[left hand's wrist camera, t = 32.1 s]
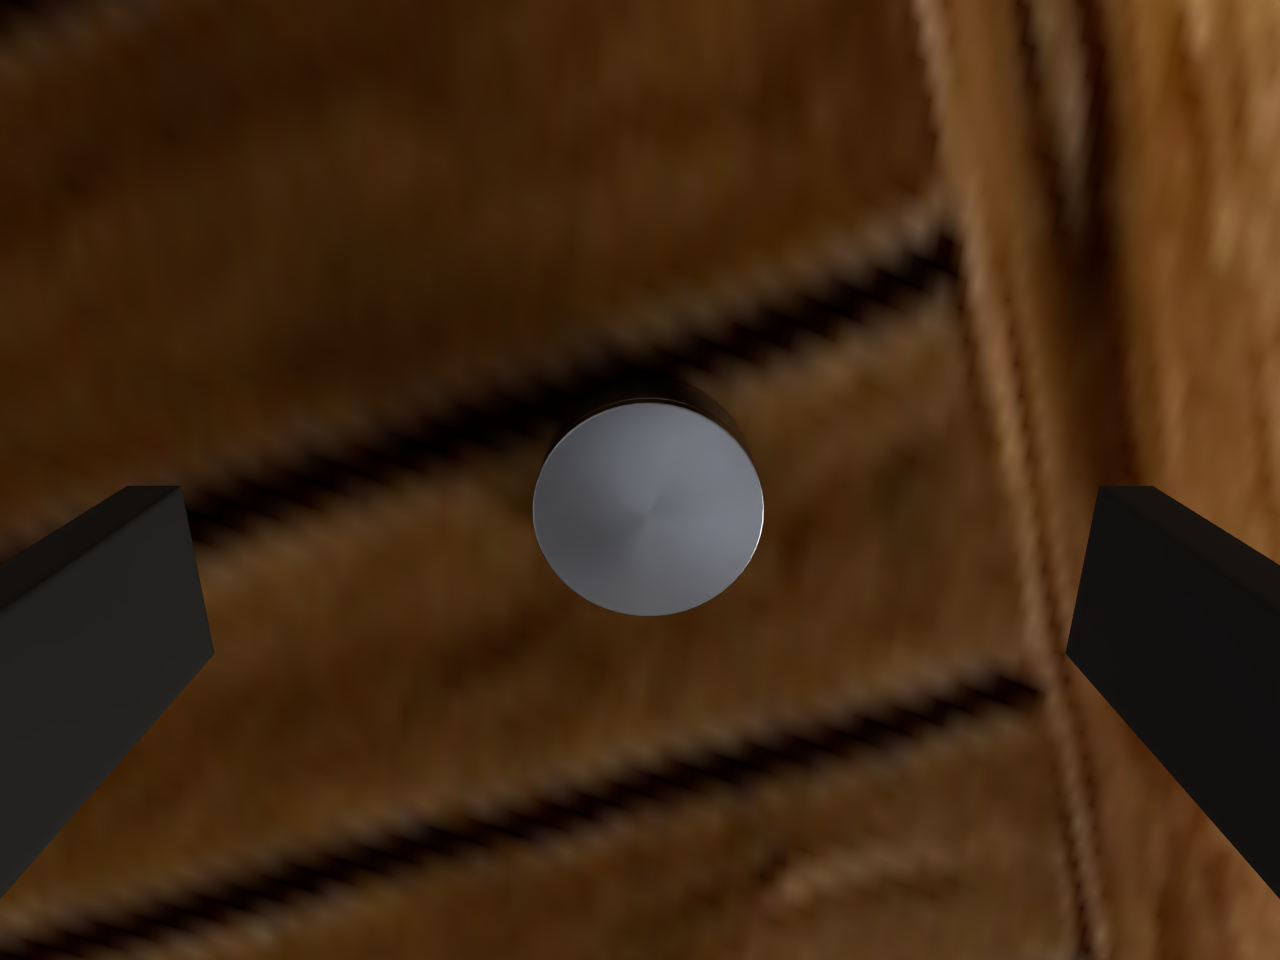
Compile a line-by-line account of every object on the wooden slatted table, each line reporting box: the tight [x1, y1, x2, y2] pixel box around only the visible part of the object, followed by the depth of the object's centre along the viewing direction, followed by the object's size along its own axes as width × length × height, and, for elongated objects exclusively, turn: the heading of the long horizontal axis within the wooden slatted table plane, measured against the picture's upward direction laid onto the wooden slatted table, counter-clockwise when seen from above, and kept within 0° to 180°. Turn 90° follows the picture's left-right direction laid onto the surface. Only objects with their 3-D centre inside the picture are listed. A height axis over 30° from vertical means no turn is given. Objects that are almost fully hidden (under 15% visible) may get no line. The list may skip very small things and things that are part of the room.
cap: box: [532, 378, 764, 616], centre depth 15 cm, size 4×4×2 cm
